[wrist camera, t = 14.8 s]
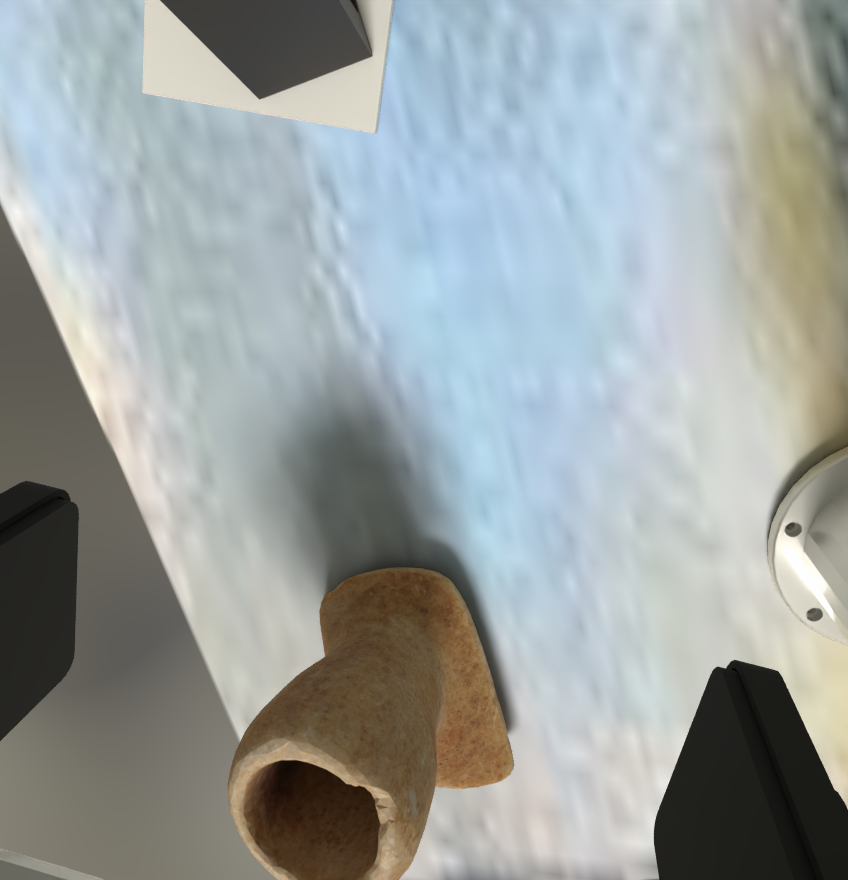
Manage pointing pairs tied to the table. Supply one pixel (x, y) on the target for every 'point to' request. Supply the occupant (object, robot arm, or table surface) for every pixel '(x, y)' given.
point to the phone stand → (277, 38)
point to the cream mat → (318, 101)
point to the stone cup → (370, 733)
